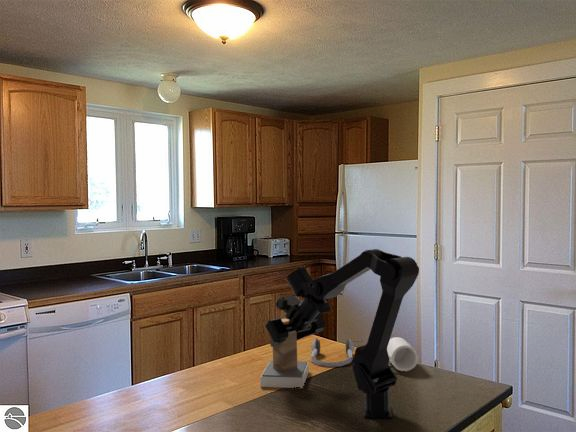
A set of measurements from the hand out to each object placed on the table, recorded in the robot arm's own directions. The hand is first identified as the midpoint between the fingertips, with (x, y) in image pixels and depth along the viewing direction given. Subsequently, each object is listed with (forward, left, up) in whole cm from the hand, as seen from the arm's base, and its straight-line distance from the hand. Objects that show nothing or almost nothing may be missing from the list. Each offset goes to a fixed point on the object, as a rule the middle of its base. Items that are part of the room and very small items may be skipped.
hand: (283, 342), depth 147 cm
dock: (0, 0, -11) cm, 11 cm away
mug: (+14, -32, -11) cm, 37 cm away
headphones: (+22, -14, -11) cm, 28 cm away
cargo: (0, 0, +5) cm, 5 cm away
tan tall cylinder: (0, 0, -7) cm, 8 cm away
